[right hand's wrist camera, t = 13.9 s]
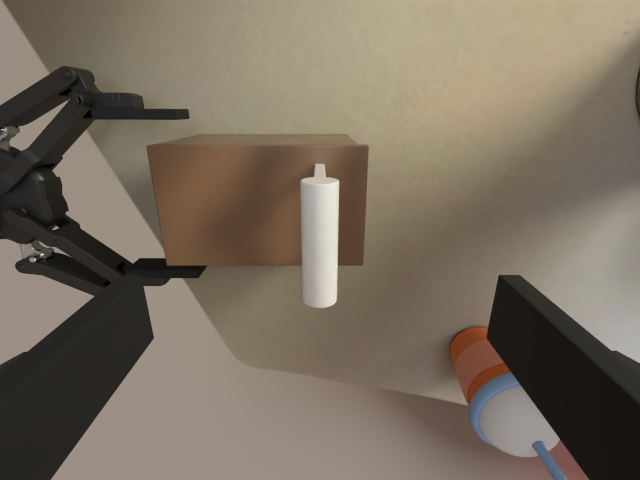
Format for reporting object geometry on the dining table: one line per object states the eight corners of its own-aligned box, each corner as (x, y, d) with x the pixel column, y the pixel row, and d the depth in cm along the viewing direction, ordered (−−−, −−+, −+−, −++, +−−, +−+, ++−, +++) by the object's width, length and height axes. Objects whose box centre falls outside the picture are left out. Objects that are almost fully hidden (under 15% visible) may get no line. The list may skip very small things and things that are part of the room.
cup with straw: (438, 378, 46) (507, 535, 29) (437, 320, 42) (514, 458, 26) (508, 371, 45) (620, 526, 28) (512, 312, 42) (641, 446, 25)
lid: (367, 144, 25) (391, 161, 16) (361, 261, 28) (379, 324, 20) (151, 144, 25) (66, 161, 16) (170, 261, 28) (108, 325, 20)
